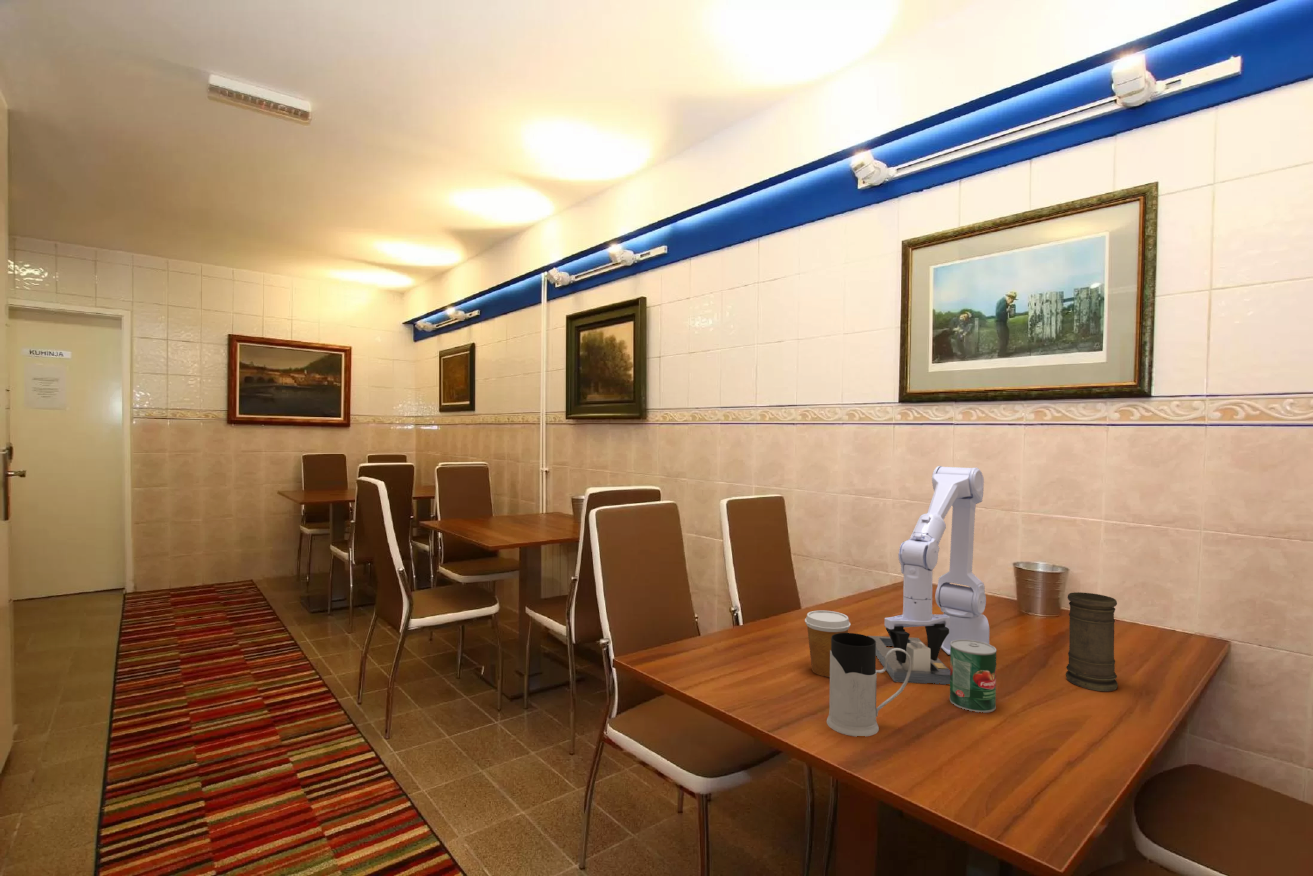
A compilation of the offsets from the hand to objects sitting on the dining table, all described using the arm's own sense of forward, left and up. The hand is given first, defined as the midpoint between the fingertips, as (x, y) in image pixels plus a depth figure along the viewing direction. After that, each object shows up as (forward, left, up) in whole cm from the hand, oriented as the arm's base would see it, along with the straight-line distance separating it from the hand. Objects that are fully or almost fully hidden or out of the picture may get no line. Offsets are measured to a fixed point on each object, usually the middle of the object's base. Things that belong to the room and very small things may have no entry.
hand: (916, 660), depth 133 cm
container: (-35, 0, -3) cm, 35 cm away
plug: (0, 0, -3) cm, 3 cm away
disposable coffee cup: (+19, +1, -3) cm, 19 cm away
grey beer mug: (+16, +26, -3) cm, 31 cm away
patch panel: (0, -7, -3) cm, 8 cm away
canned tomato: (-6, +14, -3) cm, 16 cm away
